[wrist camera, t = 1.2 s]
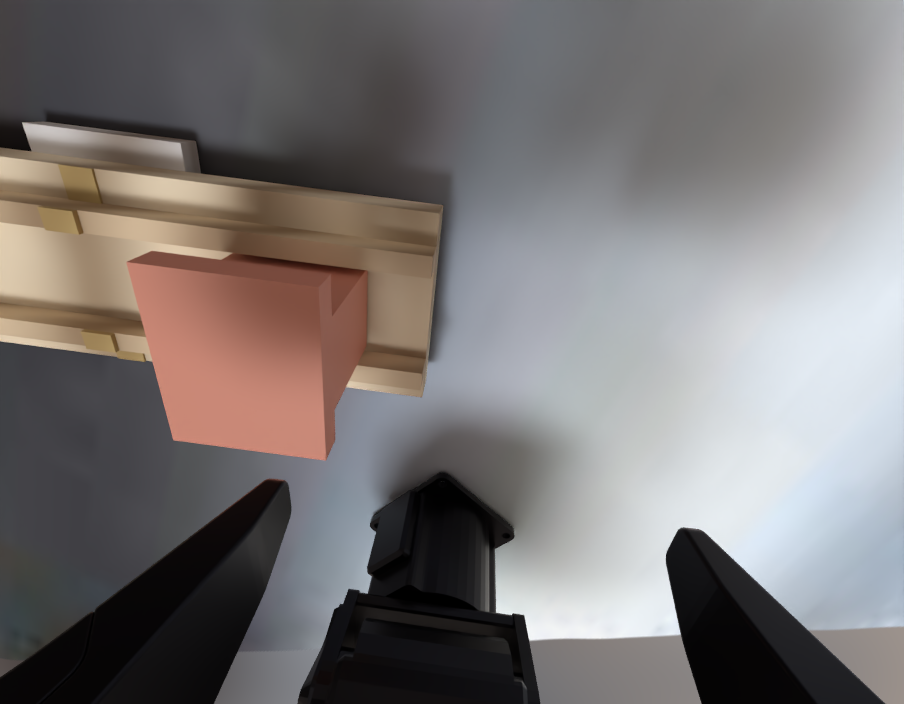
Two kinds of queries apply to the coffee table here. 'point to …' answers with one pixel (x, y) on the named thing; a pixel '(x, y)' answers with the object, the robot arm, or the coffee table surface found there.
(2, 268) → the beam
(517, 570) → the coffee table surface
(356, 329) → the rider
